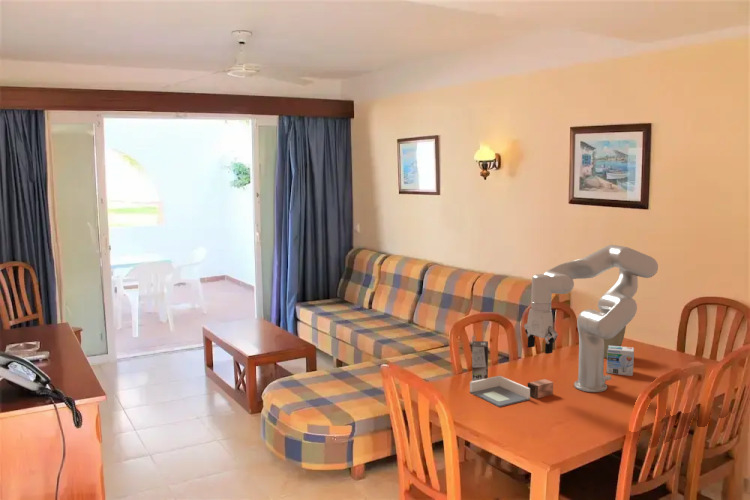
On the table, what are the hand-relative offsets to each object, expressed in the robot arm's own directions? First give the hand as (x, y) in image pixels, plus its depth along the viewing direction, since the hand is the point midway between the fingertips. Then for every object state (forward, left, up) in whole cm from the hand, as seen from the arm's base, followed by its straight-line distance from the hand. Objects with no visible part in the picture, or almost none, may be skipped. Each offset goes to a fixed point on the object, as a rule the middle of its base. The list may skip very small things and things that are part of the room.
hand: (539, 350), depth 249 cm
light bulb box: (-48, -3, -18) cm, 52 cm away
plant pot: (-62, -22, -18) cm, 69 cm away
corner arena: (+14, -7, -18) cm, 24 cm away
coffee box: (+10, -25, -18) cm, 32 cm away
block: (0, 0, -18) cm, 18 cm away
